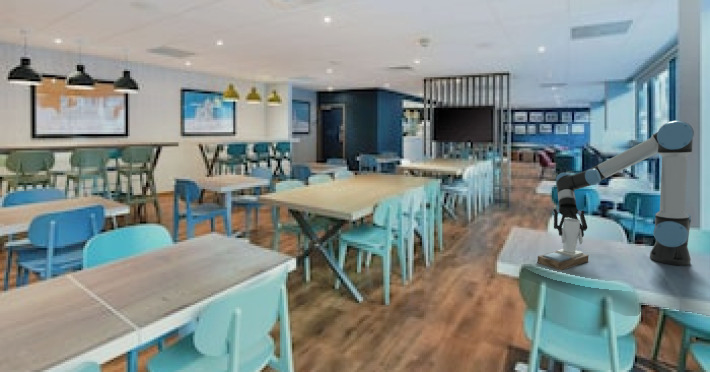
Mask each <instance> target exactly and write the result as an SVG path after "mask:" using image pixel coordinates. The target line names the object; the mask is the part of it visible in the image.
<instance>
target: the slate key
mask: <svg viewBox="0 0 710 372" xmlns="http://www.w3.org/2000/svg"><path fill="white" fill-rule="evenodd" d="M552 252H553V253H552ZM552 252H549V253H550V254H548V253H545V254H546V255H544V254H543V255H544V257H545V258H548V259H552V260H555V261H558V262H563V261H566V260H569V259H570V258H571V257H569V256H565V255H562V254H558V253H555V251H552Z"/></svg>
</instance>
